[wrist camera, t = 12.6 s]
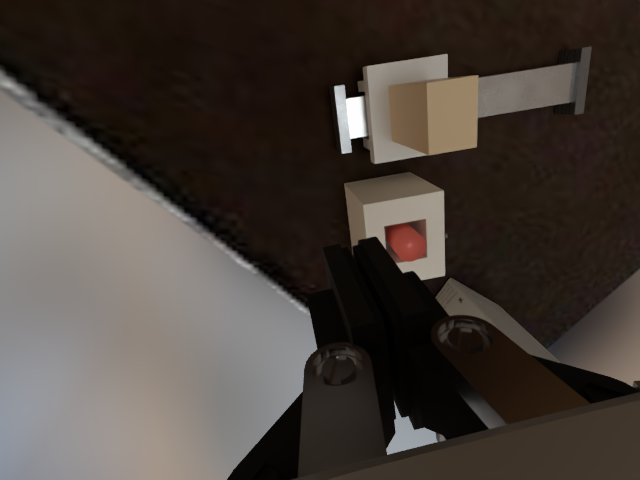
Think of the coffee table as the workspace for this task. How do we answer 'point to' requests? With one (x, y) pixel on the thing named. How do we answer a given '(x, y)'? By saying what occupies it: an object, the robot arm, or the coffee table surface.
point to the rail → (489, 95)
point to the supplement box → (488, 315)
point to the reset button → (405, 241)
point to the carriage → (418, 109)
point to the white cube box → (400, 217)
